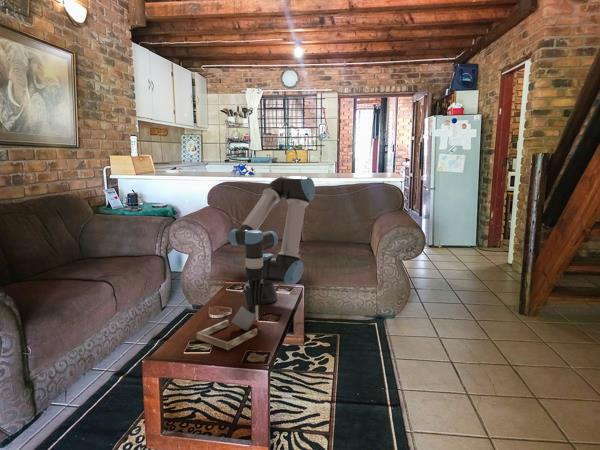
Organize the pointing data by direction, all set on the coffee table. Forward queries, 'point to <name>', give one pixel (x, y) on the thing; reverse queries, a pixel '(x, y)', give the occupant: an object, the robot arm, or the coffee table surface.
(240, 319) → the tilted grey cube
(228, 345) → the u-shaped bracket
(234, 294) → the coffee table surface
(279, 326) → the coffee table surface
